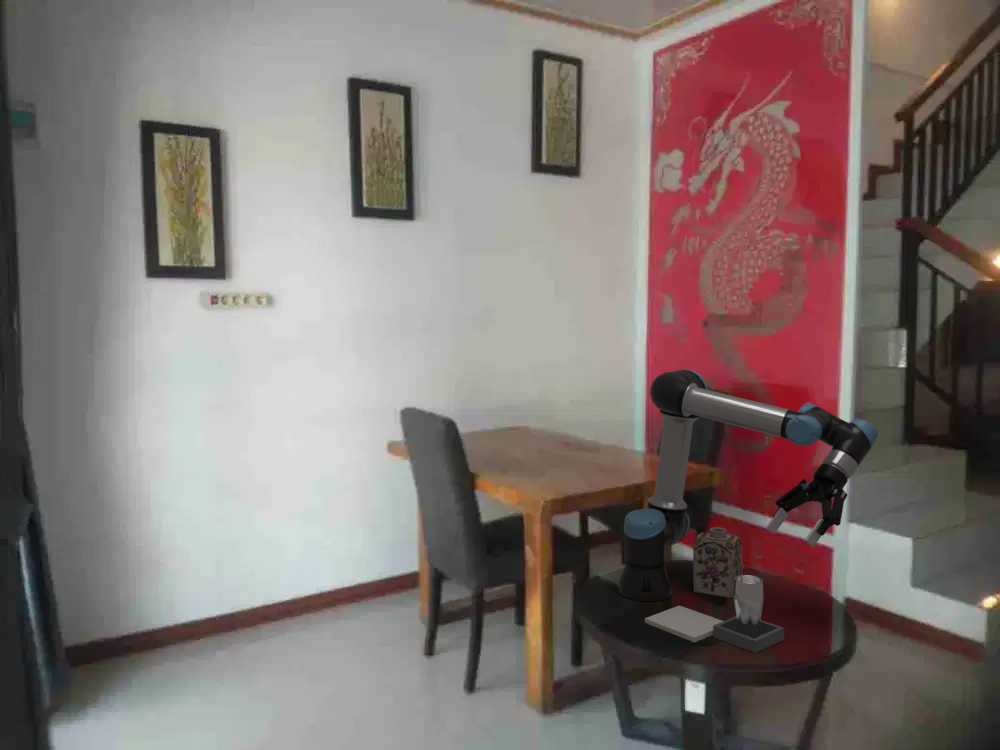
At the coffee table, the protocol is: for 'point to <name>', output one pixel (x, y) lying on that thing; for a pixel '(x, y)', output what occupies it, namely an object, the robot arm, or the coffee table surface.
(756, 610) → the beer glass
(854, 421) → the robot arm
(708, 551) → the decorative jar
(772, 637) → the holder
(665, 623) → the board
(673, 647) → the coffee table surface
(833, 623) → the coffee table surface
